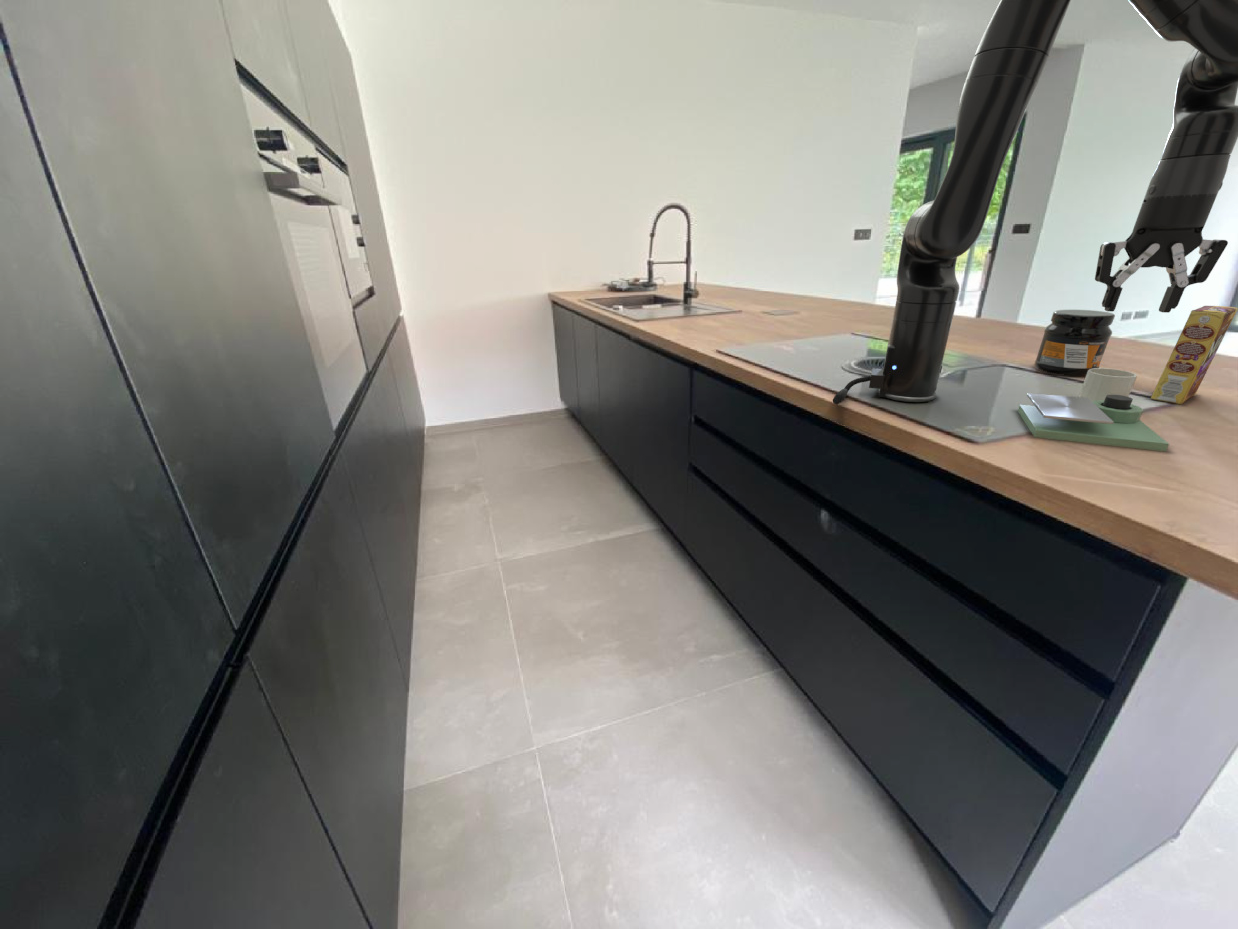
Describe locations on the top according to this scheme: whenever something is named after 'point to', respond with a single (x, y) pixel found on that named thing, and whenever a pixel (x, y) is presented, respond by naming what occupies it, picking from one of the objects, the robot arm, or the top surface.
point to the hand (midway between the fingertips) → (1135, 310)
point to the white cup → (1107, 383)
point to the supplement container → (1074, 342)
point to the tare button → (1117, 402)
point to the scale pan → (1068, 408)
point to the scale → (1096, 428)
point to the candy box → (1193, 353)
